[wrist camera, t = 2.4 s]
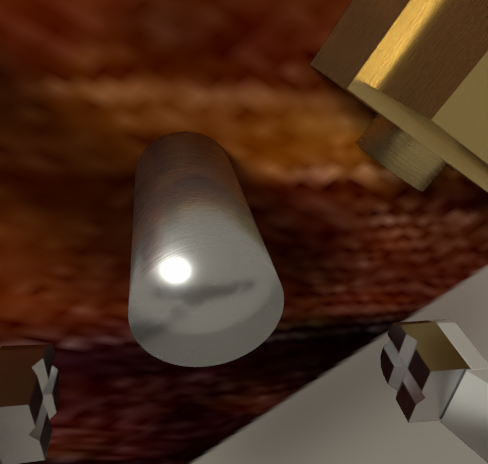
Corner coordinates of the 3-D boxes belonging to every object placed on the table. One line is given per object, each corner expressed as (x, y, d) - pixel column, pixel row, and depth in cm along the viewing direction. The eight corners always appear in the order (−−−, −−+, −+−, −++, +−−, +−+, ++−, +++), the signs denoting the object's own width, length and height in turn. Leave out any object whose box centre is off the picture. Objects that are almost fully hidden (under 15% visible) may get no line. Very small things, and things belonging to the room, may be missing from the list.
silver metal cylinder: (201, 233, 21) (231, 380, 14) (118, 196, 20) (101, 343, 12) (250, 160, 20) (313, 283, 12) (164, 112, 18) (178, 222, 10)
